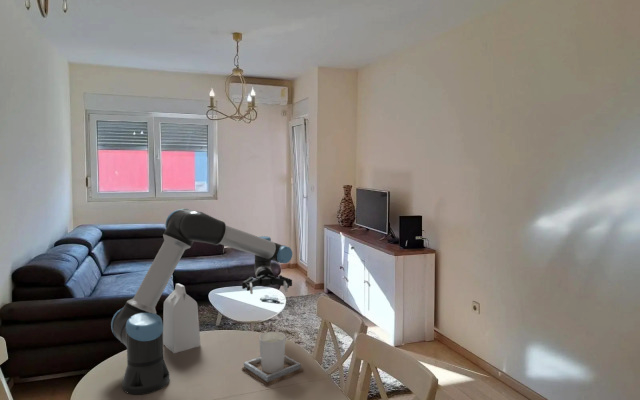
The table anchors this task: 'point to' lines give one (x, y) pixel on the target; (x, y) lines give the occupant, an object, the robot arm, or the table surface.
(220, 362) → the table surface
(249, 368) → the grey square frame
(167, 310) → the milk
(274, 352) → the candle holder
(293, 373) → the walnut plate
